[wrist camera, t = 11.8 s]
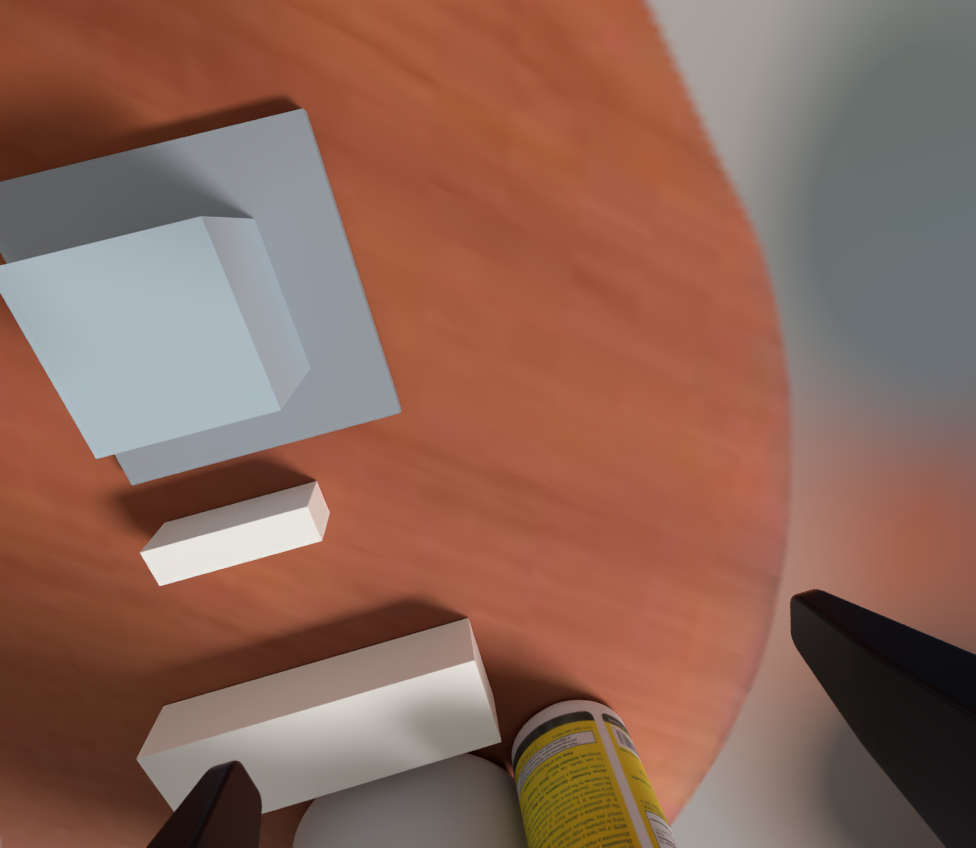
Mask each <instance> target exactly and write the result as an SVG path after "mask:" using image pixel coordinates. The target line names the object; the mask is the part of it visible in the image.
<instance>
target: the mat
mask: <svg viewBox="0 0 976 848" xmlns="http://www.w3.org/2000/svg"><path fill="white" fill-rule="evenodd" d="M200 216H208V217H229V218H250V219H255V222H256V224H257V227H258V230H259V232H260V235H261V238H262V240H263V243H264V246H265V248H266V251H267V254H268V256H269V259H270V262H271V264H272V267H273V270H274V272H275V275H276V278H277V280H278V283H279V286H280V288H281V291H282V294H283V296H284V299H285V302H286V304H287V307H288V310H289V312H290V315H291V318H292V320H293V323H294V326H295V328H296V331H297V334H298V336H299V339H300V342H301V344H302V347H303V350H304V352H305V355H306V358H307V360H308V363H309V366H310V370H309V371H308V373H307V374H306V375H305V377H304V378H303V380H302V381H301V383H300V384H299V385H298V387H297V388H296V390H295V391H294V392H293V394H292V395H291V397H290V398H289V400H288V401H287V402H286V404H285V405H284V407H283V408H282V410H280V411H276V412H272V413H269V414H265V415H261V416H257V417H254V418H250V419H246V420H242V421H238V422H235V423H231V424H227V425H223V426H219V427H216V428H212V429H208V430H204V431H200V432H197V433H193V434H189V435H185V436H182V437H178V438H174V439H170V440H166V441H163V442H159V443H155V444H151V445H147V446H144V447H140V448H136V449H132V450H129V451H125V452H121V453H117V454H114V455H115V456H116V458H117V460H118V462H119V463H120V465H121V467H122V469H123V470H124V472H125V474H126V476H127V478H128V479H129V481H130V483H131V485H136V484H139V483H143V482H147V481H150V480H154V479H158V478H162V477H165V476H169V475H173V474H176V473H180V472H184V471H187V470H191V469H195V468H199V467H202V466H206V465H210V464H213V463H217V462H221V461H224V460H228V459H232V458H236V457H239V456H243V455H247V454H250V453H254V452H258V451H262V450H265V449H269V448H273V447H276V446H280V445H284V444H287V443H291V442H295V441H299V440H302V439H306V438H310V437H313V436H317V435H321V434H324V433H328V432H332V431H336V430H339V429H343V428H347V427H350V426H354V425H358V424H361V423H365V422H369V421H373V420H376V419H380V418H384V417H387V416H391V415H395V414H398V413H401V405H400V402H399V399H398V396H397V393H396V390H395V386H394V383H393V380H392V377H391V374H390V371H389V368H388V365H387V361H386V358H385V355H384V352H383V349H382V346H381V343H380V339H379V336H378V333H377V330H376V327H375V324H374V321H373V318H372V314H371V311H370V308H369V305H368V302H367V299H366V296H365V293H364V289H363V286H362V283H361V280H360V277H359V274H358V271H357V267H356V264H355V261H354V258H353V255H352V252H351V249H350V246H349V242H348V239H347V236H346V233H345V230H344V227H343V224H342V221H341V217H340V214H339V211H338V208H337V205H336V202H335V199H334V195H333V192H332V189H331V186H330V183H329V180H328V177H327V174H326V170H325V167H324V164H323V161H322V158H321V155H320V152H319V148H318V145H317V142H316V139H315V136H314V133H313V130H312V127H311V123H310V120H309V117H308V114H307V112H306V111H305V110H304V109H303V108H302V109H298V110H294V111H290V112H286V113H282V114H278V115H273V116H269V117H265V118H261V119H257V120H253V121H249V122H245V123H240V124H236V125H232V126H228V127H224V128H220V129H216V130H212V131H208V132H203V133H199V134H195V135H191V136H187V137H183V138H179V139H175V140H170V141H166V142H162V143H158V144H154V145H150V146H146V147H142V148H137V149H133V150H129V151H125V152H121V153H117V154H113V155H109V156H104V157H100V158H96V159H92V160H88V161H84V162H80V163H76V164H71V165H67V166H63V167H59V168H55V169H51V170H47V171H43V172H38V173H34V174H30V175H26V176H22V177H18V178H14V179H10V180H5V181H1V182H0V253H1V254H2V256H3V258H4V260H5V261H6V263H7V264H9V263H13V262H17V261H21V260H25V259H29V258H33V257H37V256H41V255H45V254H49V253H53V252H58V251H62V250H66V249H70V248H74V247H78V246H82V245H86V244H90V243H94V242H98V241H102V240H106V239H110V238H114V237H119V236H123V235H127V234H131V233H135V232H139V231H143V230H147V229H151V228H155V227H159V226H163V225H167V224H171V223H176V222H180V221H184V220H188V219H192V218H196V217H200Z"/></svg>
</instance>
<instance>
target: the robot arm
mask: <svg viewBox="0 0 976 848" xmlns="http://www.w3.org/2000/svg"><path fill="white" fill-rule="evenodd" d="M790 610H791V611H790V614H791V615H790V616H791V636H792V639H793V642H794V644H795V646H796V648H797V650H798V651H799V653H800V654H801V656H802V657H803V658H804V660H805V662H806V663H807V665H808V666H809V668H810V669H811V670H812V672H813V674H814V675H815V677H816V678H817V679H818V681H819V682H820V684H821V685H822V687H823V688H824V690H825V691H826V693H827V694H828V696H829V697H830V699H831V700H832V702H833V703H834V705H835V706H836V708H837V709H838V711H839V712H840V713H841V715H842V717H843V718H844V720H845V721H846V722H847V724H848V725H849V727H850V728H851V730H852V731H853V732H854V734H855V735H856V737H857V738H858V740H859V741H860V742H861V744H862V745H863V746H864V747H865V749H866V750H867V751H868V753H869V754H870V755H871V756H872V758H873V759H874V760H875V761H876V763H877V764H878V765H879V766H880V768H881V769H882V770H883V771H884V772H885V774H886V775H887V776H888V777H889V779H890V780H891V781H892V782H893V783H894V785H895V786H896V787H897V788H898V790H899V791H900V792H901V793H902V795H903V796H904V797H905V798H906V799H907V801H908V802H909V803H910V805H911V806H912V807H913V808H914V809H915V811H916V812H917V813H918V814H919V816H920V817H921V818H922V819H923V820H924V822H925V823H926V824H927V825H928V827H929V828H930V829H931V830H932V832H933V833H934V834H935V835H936V837H937V838H938V839H939V840H940V841H941V843H942V844H943V845H944V846H945V848H976V654H973V653H971V652H969V651H966V650H964V649H961V648H959V647H957V646H954V645H952V644H949V643H947V642H944V641H942V640H940V639H937V638H935V637H933V636H930V635H927V634H925V633H923V632H921V631H918V630H916V629H913V628H911V627H909V626H906V625H904V624H901V623H899V622H896V621H894V620H892V619H889V618H887V617H885V616H882V615H880V614H877V613H875V612H873V611H870V610H868V609H865V608H863V607H860V606H858V605H856V604H853V603H851V602H849V601H846V600H844V599H841V598H839V597H837V596H834V595H832V594H829V593H827V592H825V591H822V590H818V589H813V590H809V591H806V592H802V593H799V594H796V595H794V596H793V597H792V598H791V602H790ZM261 815H262V800H261V795H260V792H259V790H258V789H257V787H256V785H255V784H254V782H253V780H252V779H251V777H250V776H249V774H248V772H247V771H246V769H245V768H244V766H243V764H242V763H241V762H239V761H237V760H233V761H229V762H226V763H223V764H219V765H216V766H213V767H211V768H210V769H209V770H207V771H206V773H205V774H204V775H203V776H202V777H201V779H200V780H199V781H198V782H197V784H196V785H195V786H194V787H193V789H192V790H191V791H190V793H189V794H188V795H187V796H186V798H185V799H184V800H183V801H182V803H181V804H180V805H179V807H178V808H177V809H176V810H175V812H174V813H173V814H172V815H171V817H170V818H169V819H168V820H167V822H166V823H165V824H164V826H163V827H162V828H161V829H160V831H159V832H158V833H157V834H156V836H155V837H154V838H153V839H152V841H151V842H150V843H149V845H148V846H147V847H146V848H258V846H259V835H260V825H261Z"/></svg>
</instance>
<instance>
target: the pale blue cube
mask: <svg viewBox="0 0 976 848" xmlns="http://www.w3.org/2000/svg"><path fill="white" fill-rule="evenodd" d="M0 293H1V295H2V297H3V298H4V300H5V302H6V304H7V305H8V307H9V309H10V311H11V312H12V314H13V316H14V317H15V319H16V321H17V323H18V324H19V326H20V328H21V330H22V331H23V333H24V335H25V336H26V338H27V340H28V342H29V343H30V345H31V347H32V349H33V350H34V352H35V354H36V356H37V357H38V359H39V361H40V362H41V364H42V366H43V368H44V369H45V371H46V373H47V375H48V376H49V378H50V380H51V381H52V383H53V385H54V387H55V388H56V390H57V392H58V394H59V395H60V397H61V399H62V401H63V402H64V404H65V406H66V407H67V409H68V411H69V413H70V414H71V416H72V418H73V420H74V421H75V423H76V425H77V427H78V428H79V430H80V432H81V433H82V435H83V437H84V439H85V440H86V442H87V444H88V446H89V447H90V449H91V451H92V452H93V454H94V456H95V458H96V459H98V458H102V457H106V456H110V455H113V454H117V453H121V452H125V451H129V450H132V449H136V448H140V447H144V446H147V445H151V444H155V443H159V442H163V441H166V440H170V439H174V438H178V437H182V436H185V435H189V434H193V433H197V432H200V431H204V430H208V429H212V428H216V427H219V426H223V425H227V424H231V423H235V422H238V421H242V420H246V419H250V418H254V417H257V416H261V415H265V414H269V413H272V412H276V411H280V410H282V408H283V407H284V405H285V404H286V402H287V401H288V400H289V398H290V397H291V395H292V394H293V392H294V391H295V390H296V388H297V387H298V385H299V384H300V383H301V381H302V380H303V378H304V377H305V375H306V374H307V373H308V371H309V370H310V366H309V363H308V360H307V358H306V355H305V352H304V350H303V347H302V344H301V342H300V339H299V336H298V334H297V331H296V328H295V326H294V323H293V320H292V318H291V315H290V312H289V310H288V307H287V304H286V302H285V299H284V296H283V294H282V291H281V288H280V286H279V283H278V280H277V278H276V275H275V272H274V270H273V267H272V264H271V262H270V259H269V256H268V254H267V251H266V248H265V246H264V243H263V240H262V238H261V235H260V232H259V230H258V227H257V224H256V222H255V219H250V218H229V217H208V216H200V217H196V218H192V219H188V220H184V221H180V222H176V223H171V224H167V225H163V226H159V227H155V228H151V229H147V230H143V231H139V232H135V233H131V234H127V235H123V236H119V237H114V238H110V239H106V240H102V241H98V242H94V243H90V244H86V245H82V246H78V247H74V248H70V249H66V250H62V251H58V252H53V253H49V254H45V255H41V256H37V257H33V258H29V259H25V260H21V261H17V262H13V263H9V264H5V265H1V266H0Z"/></svg>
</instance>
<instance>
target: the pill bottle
mask: <svg viewBox="0 0 976 848" xmlns="http://www.w3.org/2000/svg"><path fill="white" fill-rule="evenodd" d="M512 765H513V772H514V778H515V782H516V788H517V793H518V798H519V803H520V808H521V813H522V818H523V824H524V828H525V833H526V838H527V843H528V848H678V846H677V843H676V841H675V839H674V837H673V834H672V832H671V830H670V827H669V825H668V822H667V820H666V818H665V816H664V813H663V811H662V809H661V807H660V804H659V802H658V800H657V797H656V795H655V793H654V790H653V788H652V786H651V784H650V781H649V779H648V777H647V774H646V772H645V770H644V768H643V765H642V763H641V760H640V758H639V756H638V753H637V751H636V749H635V747H634V744H633V742H632V740H631V738H630V736H629V733H628V731H627V729H626V727H625V725H624V723H623V721H622V720H621V718H620V717H619V716H618V715H617V714H616V713H615V712H614V711H613V710H612V709H610V708H609V707H607V706H605V705H603V704H600V703H597V702H593V701H588V700H569V701H564V702H559V703H556V704H554V705H551V706H549V707H547V708H545V709H544V710H542V711H540V712H539V713H537V714H536V715H534V716H533V717H532V718H531V719H530V720H529V721H528V722H527V723H526V724H525V725H524V726H523V727H522V729H521V730H520V731H519V733H518V735H517V736H516V739H515V741H514V744H513V748H512Z"/></svg>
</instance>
